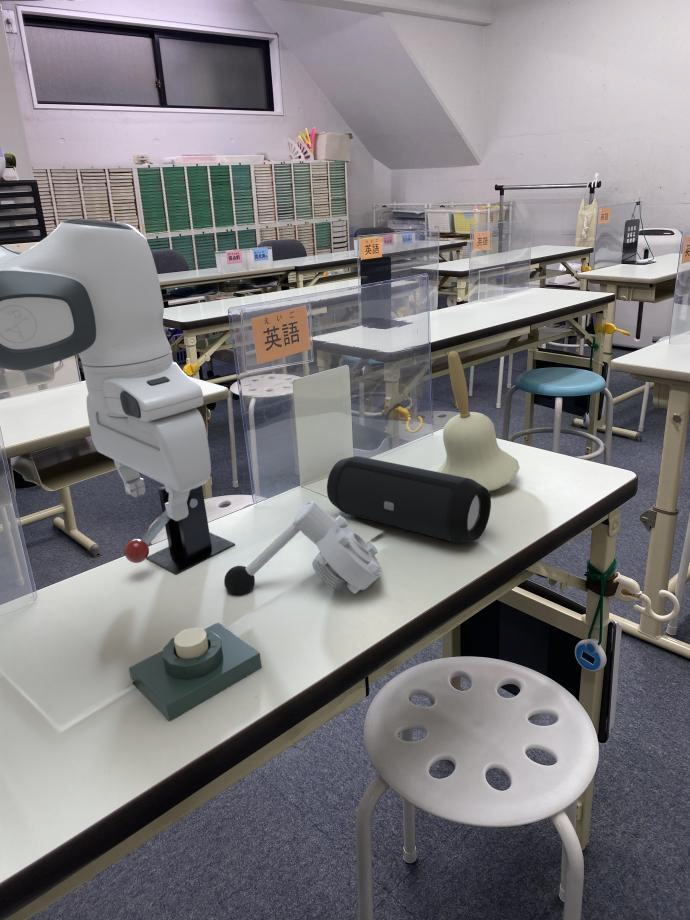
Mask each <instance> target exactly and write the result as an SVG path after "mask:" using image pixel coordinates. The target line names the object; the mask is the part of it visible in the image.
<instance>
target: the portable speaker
mask: <svg viewBox="0 0 690 920" xmlns="http://www.w3.org/2000/svg"><path fill="white" fill-rule="evenodd" d="M326 494H327V497H328V500H329V502H330V503H331V504H332V505H333V506H334V507H336V508H337V509H338V510H339V511H340V512H342V513H343V514H346V515H349V516H354V517H358V518H361V519H363V520H364V519H365V520H369V521H371V522H375V523H379V524H383V525H387V526H391V527H395V528H399V529H402V530H407V531H411V532H414V533H418V534H422V535H425V536H430V537H433V538H437V539H440V540H445V541H448V542H452V543H456V544H461V543H468V542H475V541H477V540H479V539H480V538H481V537H482V535H483V534H484V532H485V531H486V528H487V526H488V524H489V520H490V515H491V509H492V498H491V493H490V491H488V490H487V488H485V487H484V486H482V485H481V484H479V483H478V482H476V481H474V480H472V479H470V478H465V477H460V476H455V475H450V474H445V473H440V472H437V471H434V470H430V469H425V468H419V467H415V466H411V465H410V466H409V465H404V464H400V463H396V462H395V463H394V462H390V461H386V460H385V461H384V460H381V459H380V460H379V459H374V458H369V457H364V456H359V455H354V456H350V457H346V458H342V459H340V460H338V461H336V463H335V464H334V465H333V467H332V468H331V470H330V472H329V474H328V477H327V483H326Z"/></svg>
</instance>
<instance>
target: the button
mask: <svg viewBox="0 0 690 920" xmlns="http://www.w3.org/2000/svg"><path fill="white" fill-rule="evenodd" d="M174 637H175V638H174ZM174 637H173V638H174V643H175V648H176V653H177V656H178V657H180V658H182V659H192V658H198V657H199V656H201V655H203V654H205V653H206V652H207V650H208V640H207V635H206V632H205V631H204V628H200V627H189V628H185V629H183V630H181V631H179V632H178V633H176V635H175V636H174Z"/></svg>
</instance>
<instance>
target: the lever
mask: <svg viewBox="0 0 690 920" xmlns="http://www.w3.org/2000/svg"><path fill="white" fill-rule="evenodd" d="M168 500H169V497H168ZM170 519H171V518H170V517H168V516H167V510H165V511H164V512H162V513H161V515H159V517H158V518H157V519H156V520H155V522H154V523H153V524H152V525H151V526H150V527H149V529H148V530H147V531H146V532H145V533H144V535H143V536H142V537H141V538H133V539H131V540H130V541H128V542H127V543H126V545H125V547H124V550H123V551H124V552H123V553H124V556H125V558H126V560H128V561H129V562H130V563H133V564H139V563H140V564H141V563H142V562H144V561H145V560H147V559H146V558H147V557H148V556H149V555H150V547H149V545H150V544H151V543H152V541H153V540H154V539H155V538H156V537H157V536H158V534H159V533H160V532H161V531H162V530H163V529H164V527H165V525H166V524H167V523H168V521H169V520H170Z"/></svg>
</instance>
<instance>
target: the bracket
mask: <svg viewBox="0 0 690 920" xmlns="http://www.w3.org/2000/svg"><path fill="white" fill-rule="evenodd" d="M203 489H204V488H203V485H201V486H198V487H196V488H193V489H190V492H189V496H188V500H187V506H188V512H189V514H188V516H187V517H186V518H184V519H181V520H179V521H175V520H173V519H170V520H169V521H168V523H167V524H166V525H165V526H164V527H165V528H164V529H165V533H166V538H167V544H168V546H167V547H165V548H163V549H160V550H159V551H156V552H154V553H152V554H149V555H148V556H147V558H146V559H145V560H147V561H149V562H150V563H152V564H155V565H156V566H158V567H159V568H162V569H164V571H165V570H166V571H167V572H169V573H171V574H173V575H174V576H178V575H179V574H180V575H181V574H182V573H183V572H186V571H188V570H190V569H192V568H194V567H196V566H198V565H200V564H201V563H203V562H205V561H207V560H209V559H211V558H213V557H215V556H217V555H219V554H221V553H223V552H225V551H227V550H229V549H231V548H233V547H235V546H236V542H232V541H230V540H228V539H225V538H224V537H221V536H219V535H217V534H215V533H213V532H210V527H209V521H208V514H207V508H206V502H205V495H204V490H203ZM157 491H158V494H159V500H160V505H161V511H162V513H163V512H164V511H165V510H166V507H165V503H167V502H168V501H169V500H168V497H169V492H166V489H165V485H163V486H161V487H158V490H157Z"/></svg>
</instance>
